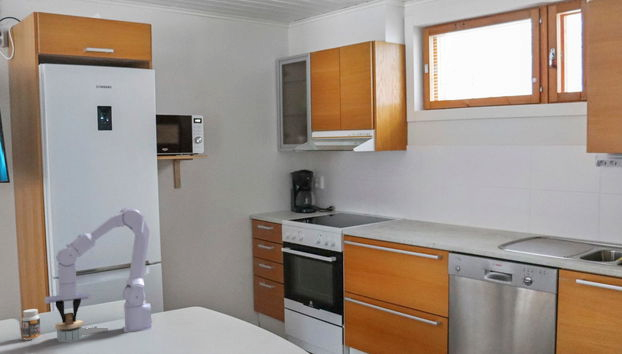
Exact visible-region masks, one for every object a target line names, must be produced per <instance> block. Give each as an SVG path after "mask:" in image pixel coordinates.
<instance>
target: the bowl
mask: <svg viewBox="0 0 622 354" xmlns="http://www.w3.org/2000/svg"><path fill="white" fill-rule="evenodd" d="M82 328H83V325H82V326H80V327H77V328H73V329H65V330H60V329H56V339H57V341H58V342H59V343H70V342H75V341H79V340H82V339H83V335H82Z"/></svg>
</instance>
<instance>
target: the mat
mask: <svg viewBox="0 0 622 354" xmlns="http://www.w3.org/2000/svg"><path fill="white" fill-rule="evenodd" d="M91 327H92V328H88V329H86V328H87V327H82V336H84V335H86V336H87V335H95V334H103V333H108V332H109V327H108V328H97V327H96V326H91ZM93 327H94V328H93ZM95 327H96V328H95Z"/></svg>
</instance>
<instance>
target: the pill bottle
mask: <svg viewBox="0 0 622 354" xmlns="http://www.w3.org/2000/svg"><path fill="white" fill-rule="evenodd" d="M38 313H39V310H38V309H37V308H30V309H26V310H23V311H22V314H23V317H22V318H21V326H22V327H21V331H22V340H24V338H25V339H26V340H25V341H32V340H36V339H39V338H40V337H41V319H40V318H41V317H40V316H39V314H38ZM35 338H36V339H35ZM31 339H32V340H31Z"/></svg>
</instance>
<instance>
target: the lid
mask: <svg viewBox="0 0 622 354" xmlns="http://www.w3.org/2000/svg"><path fill="white" fill-rule="evenodd" d="M64 314H65V323H63V322H58V323H57V324H56V323H55V325H54V326H55V329H56V330H57V329H60V330H65V329H73V328H77V327H80V326H82V327H83V325H84V321H83V320H79V319H76V322H73V312H66V313H64Z"/></svg>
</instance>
